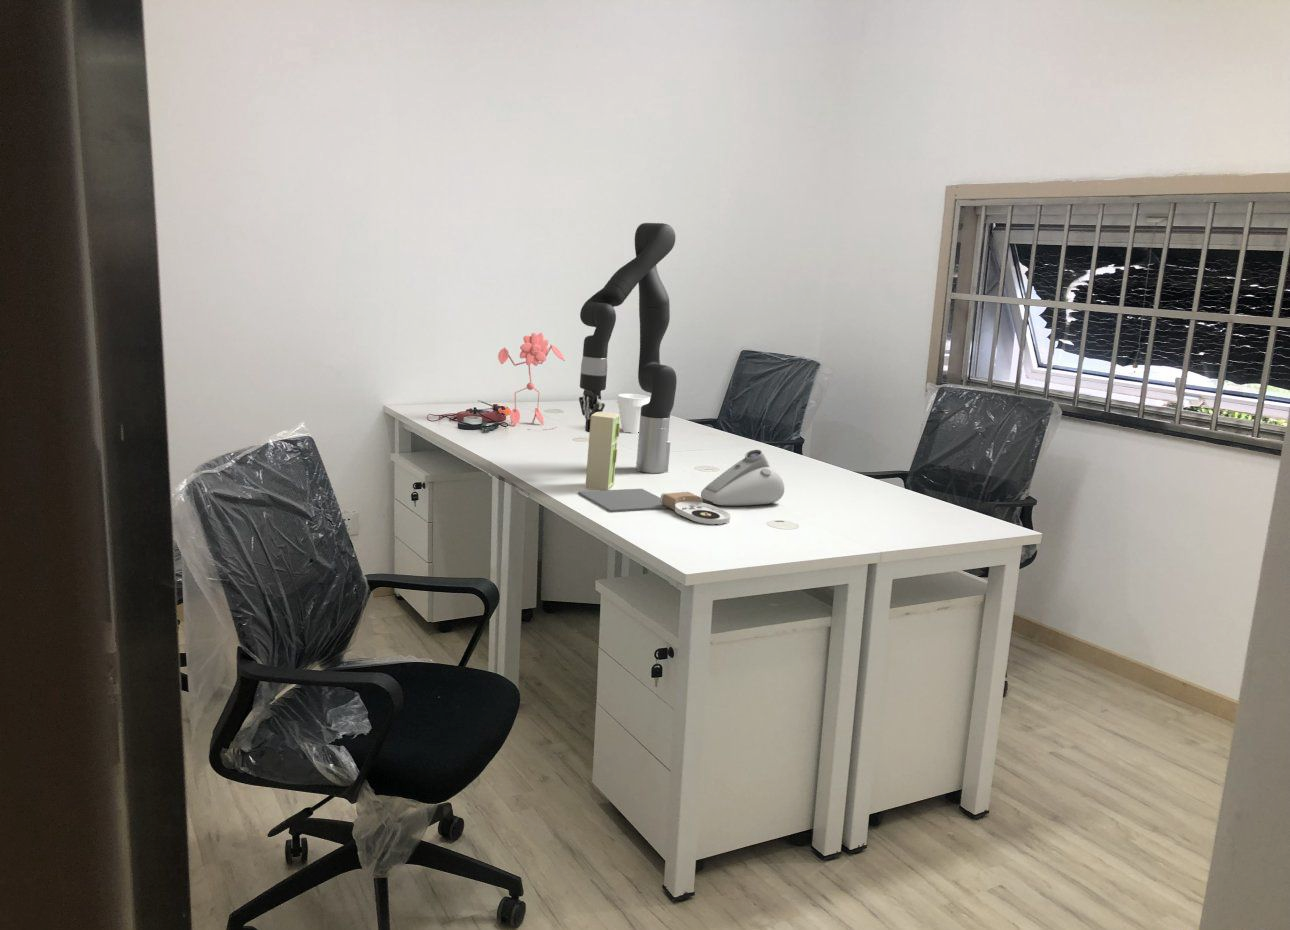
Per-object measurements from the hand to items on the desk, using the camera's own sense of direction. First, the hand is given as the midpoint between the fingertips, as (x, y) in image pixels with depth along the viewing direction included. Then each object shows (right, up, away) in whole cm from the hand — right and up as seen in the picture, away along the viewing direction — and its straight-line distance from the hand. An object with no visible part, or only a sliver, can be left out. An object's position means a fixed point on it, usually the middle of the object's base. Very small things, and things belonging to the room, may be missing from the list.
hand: (589, 431), depth 290 cm
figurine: (-27, +5, +82) cm, 86 cm away
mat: (+11, -19, -19) cm, 29 cm away
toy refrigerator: (+4, -16, -5) cm, 17 cm away
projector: (+43, -20, -9) cm, 48 cm away
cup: (+11, +3, +89) cm, 89 cm away
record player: (+30, -23, -28) cm, 47 cm away
